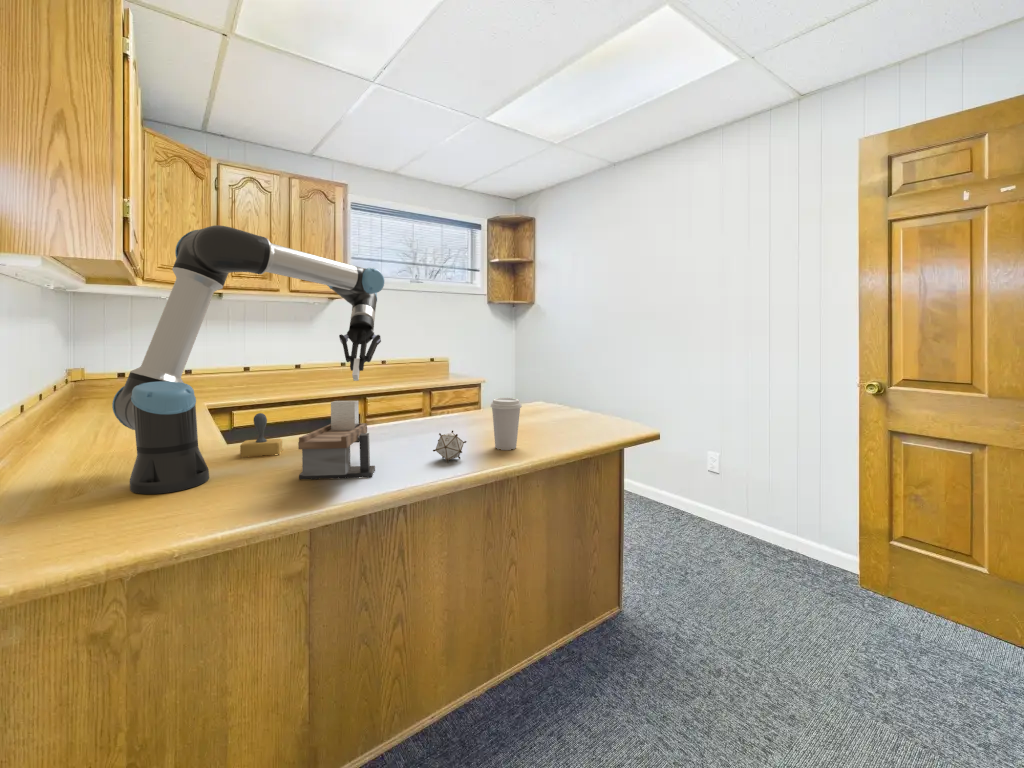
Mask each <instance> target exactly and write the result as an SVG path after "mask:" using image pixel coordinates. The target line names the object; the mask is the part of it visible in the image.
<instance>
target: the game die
mask: <svg viewBox="0 0 1024 768" xmlns="http://www.w3.org/2000/svg"><path fill="white" fill-rule="evenodd" d="M438 435H439V439H438V440H437V444H436V447H435V449H433V450H432V452H436V453H438V454H439V455H440V456H441V457H442V459H445V460H446V461H445V462H446V464H448V462H449V461H450V460H453V459H456V458H458V459H459V460H461V457H460V455H461V454H462V453H463V447H464V444H466V443H467V441H466V440H464V441H463V440H462V439H461V438H460V437H458V436H459V434H457V433H454V430H453V429H452V430H451V432H449V433H445V434H442V433H440V432H439V434H438Z"/></svg>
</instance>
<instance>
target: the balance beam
mask: <svg viewBox="0 0 1024 768" xmlns="http://www.w3.org/2000/svg"><path fill="white" fill-rule="evenodd" d="M361 433H368V424H367V423H362V422H360V423H359V426H358V427H356V428H355V429H353V430H341V431H331V423H329V424H328V425H325V426H323V427H321V428H318V429H316V430H313V431H311V432H308V433H306V434H303V436H300V437H298V441H297V443H298V444H297V445H298V446H297V447H298V450H301V456H302V457H301V459H302V460H301V461H302V462H301V463H302V464H301V465H302V468H301V469H302V471H301V473H302V472H303V476H319V475H346V473H347V472H348V471H349V470H350V466H351V446H352V444H354V443H355V444H356V443H360V441H359V435H360V434H361Z"/></svg>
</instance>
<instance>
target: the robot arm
mask: <svg viewBox="0 0 1024 768" xmlns="http://www.w3.org/2000/svg"><path fill="white" fill-rule="evenodd" d="M175 258H176V259H175V262H174V264H173V266H172V272H173V274H174V275H175V278H176V279H175V281H174V284H173V286H172V289H171V291H170V293H169V295H168V297H167V301H166V303H165V306H164V308H163V310H162V313H161V316H160V317H159V320H158V323H157V326H156V328H155V330H154V333H153V335H152V338H151V340H150V342H149V345H148V348H147V351H146V352H145V356H144V358H143V360H142V361H141V362H142V363H141V365H140V366H139V367H138V368H135V369H132V370H130V372H129V374H128V376H127V379H126V382H125V384H124V386H122V387H121V388H120V389H119V390H118V391H116V393H115V395H114V396H113V400H112V404H111V405H112V411H113V414H114V416H115V417H116V419H117V421H119V423H121V425H123V426H124V427H126V428H128V429H130V430H132V431H134V434H135V446H136V458H135V461H134V464H133V468H132V471H131V474H130V478H129V491H130V492H132V493H134V494H140V495H154V494H155V495H159V494H167V493H173V492H179V491H183V490H188V489H192V488H195V487H197V486H200V485H203V484H204V483H206V482H207V481H209V479H210V471H209V467H208V465H207V463H206V460H205V458H204V457H203V454H202V452H201V451H200V448H199V438H198V437H199V436H198V423H197V421H198V420H197V409H196V407H197V405H196V404H197V399H196V395H195V390H194V388H193V387H192V386H191V385H190V384H187V383H184V380H183V379H182V375H183V373H184V371H185V368H186V365H187V362H188V360H189V358H190V355H191V353H192V350H193V347H194V346H195V345H194V344H195V342H196V339H197V337H198V334H199V331H200V329H201V327H202V324H203V322H204V318H205V316H206V313H207V311H208V308H209V305H210V304H211V301H212V298H213V296H214V293H215V292H217V291H219V290H223V288H224V286H225V283H226V281H227V278H228V276H229V274H230V273H249V274H250V273H251V274H255V275H263V274H264V273H269V274H275V275H279V276H283V277H287V278H292V279H298V280H303V281H307V282H312V283H316V284H320V285H323V286H324V285H325V286H327V287H329V289H330V290H332V291H333V292H335V293H336V294H337V295H339V297H341V298H342V299H344V300H345V301H346V302H347V303H349V304H350V305H351V313H350V314H351V315H350V321H349V328H348V331H347V332H346V334H344V335H343V334H341V333H340V334H339V336H338V337H339V340H340V343H341V345H342V347H343V353H344V356H345V357H344V359H345V362H347V363H349V364H350V365H349V369H350V371H352V374H351V375H352V380H353V381H356V382H357V381H360V379H359V378H360V373H361V372H363V371H364V369H365V368H364V367H365V363H366V362H367V363H370V362H371V361H372V359H373V356H374V354H375V352H376V349H377V347H378V345H379V344H381V342H382V339H381V338H382V337H381V335H380V334H375V332H374V330H375V329H374V328H375V319H376V318H375V317H376V309H377V302H378V297H377V296H378V293H379V292H381V291H382V290H383V289H384V287H385V278H384V274H383V273H382V272H381V271H380V270H379V269H377V268H374V267H373V268H372V267H368V268H363V267H361V266H357V265H352V264H350V263H349V264H348V263H346V262H342V261H338V260H334V259H331V258H326V257H324V256H323V257H322V256H319V255H315V254H313V253H312V254H311V253H309V252H305V251H301V250H297V249H294V248H290V247H287V246H282V245H279V244H275V243H271V242H270V239H269V238H267V237H265V236H261V235H258V234H255V233H253V232H247V231H244V230H241V229H238V228H234V227H231V226H227V225H225V226H224V225H210V226H206V227H204V228H201V229H194V230H191V231H189V232H187V233H185V235H183V236H182V237H180V239H179V240H178V242H177V243H176V246H175ZM348 339H349V340H350V341H351V342H352V347H351V354H350V353H349V348H348V347H349V346H348V343H347V342H348ZM370 342H371V343H370ZM369 343H370V345H369V347H368V349H367V346H368V344H369ZM359 345H360V350H359V358H357V356H358V349H359Z"/></svg>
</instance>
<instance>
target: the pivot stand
mask: <svg viewBox="0 0 1024 768" xmlns="http://www.w3.org/2000/svg"><path fill="white" fill-rule="evenodd" d="M370 453H371V452H370V432H367V433H361V434H360V435H359V465H353V466H352V465H350V470H349V471H348V472H347V473H346V475H319V476H303V472H302V471H301V473H300V474H299V475H298V480H299V479H311V480H320V479H319V478H340V479H360V478H359V477H369V478H373V476H374V474H375V472H374V471H376V466H375V465H371V461H370V460H371V458H370V455H371V454H370ZM373 473H374V474H373Z"/></svg>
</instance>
